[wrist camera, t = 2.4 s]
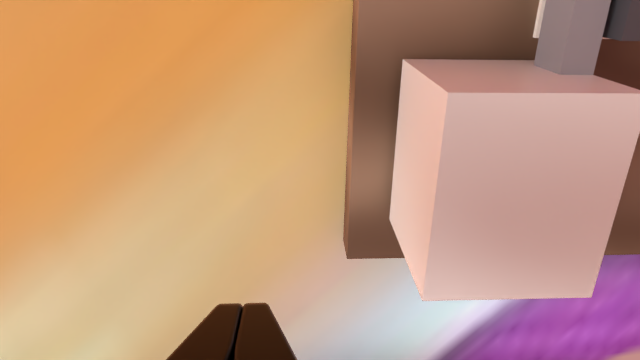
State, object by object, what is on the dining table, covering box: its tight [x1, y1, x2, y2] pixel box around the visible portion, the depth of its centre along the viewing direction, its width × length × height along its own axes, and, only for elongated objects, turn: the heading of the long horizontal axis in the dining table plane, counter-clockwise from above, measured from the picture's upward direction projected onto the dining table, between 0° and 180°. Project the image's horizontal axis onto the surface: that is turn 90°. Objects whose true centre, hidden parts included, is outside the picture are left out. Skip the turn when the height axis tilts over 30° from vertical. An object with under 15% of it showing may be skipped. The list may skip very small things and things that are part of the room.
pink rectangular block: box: [389, 0, 640, 301], centre depth 14 cm, size 10×5×5 cm, turn 179°
